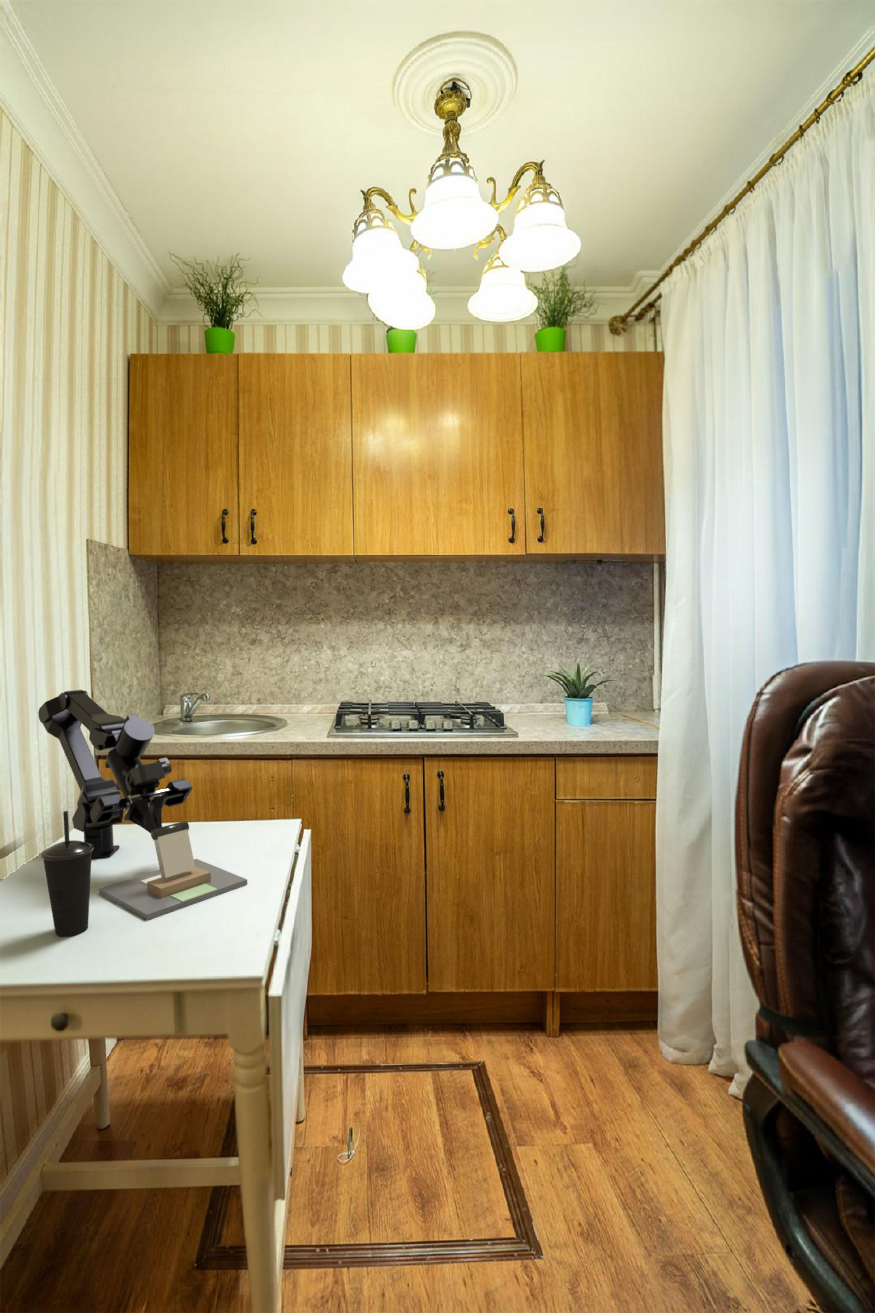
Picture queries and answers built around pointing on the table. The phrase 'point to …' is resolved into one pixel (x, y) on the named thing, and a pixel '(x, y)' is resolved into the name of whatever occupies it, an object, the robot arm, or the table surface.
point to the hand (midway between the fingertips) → (159, 836)
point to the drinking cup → (69, 883)
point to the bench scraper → (173, 849)
